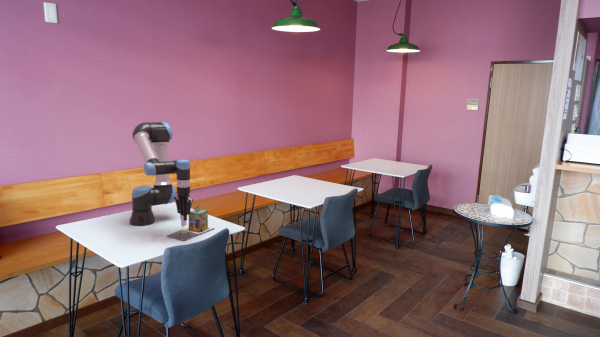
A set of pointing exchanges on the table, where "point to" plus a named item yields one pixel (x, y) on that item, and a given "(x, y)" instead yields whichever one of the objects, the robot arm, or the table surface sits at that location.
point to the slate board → (188, 234)
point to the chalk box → (198, 220)
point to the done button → (183, 232)
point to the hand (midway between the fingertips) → (183, 225)
